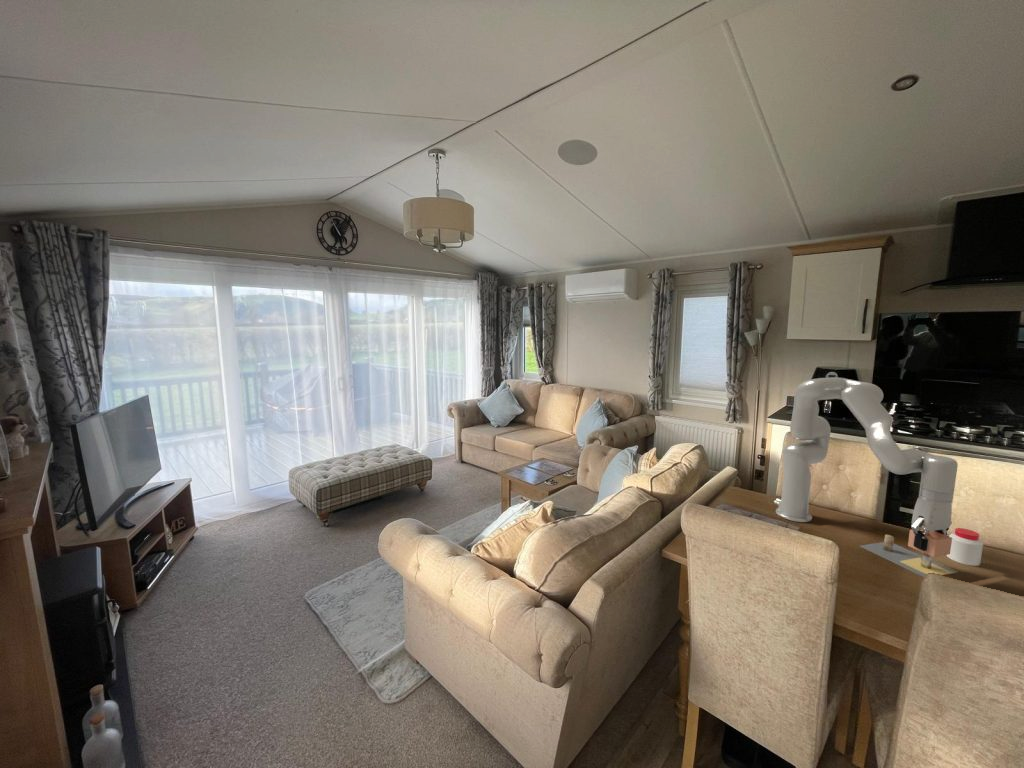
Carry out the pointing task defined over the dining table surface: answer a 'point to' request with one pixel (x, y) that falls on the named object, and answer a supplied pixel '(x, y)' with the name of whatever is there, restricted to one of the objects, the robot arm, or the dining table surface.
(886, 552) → the post board
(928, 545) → the tan boxy piece
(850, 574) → the dining table surface
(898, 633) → the dining table surface
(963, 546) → the pill bottle
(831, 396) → the robot arm
